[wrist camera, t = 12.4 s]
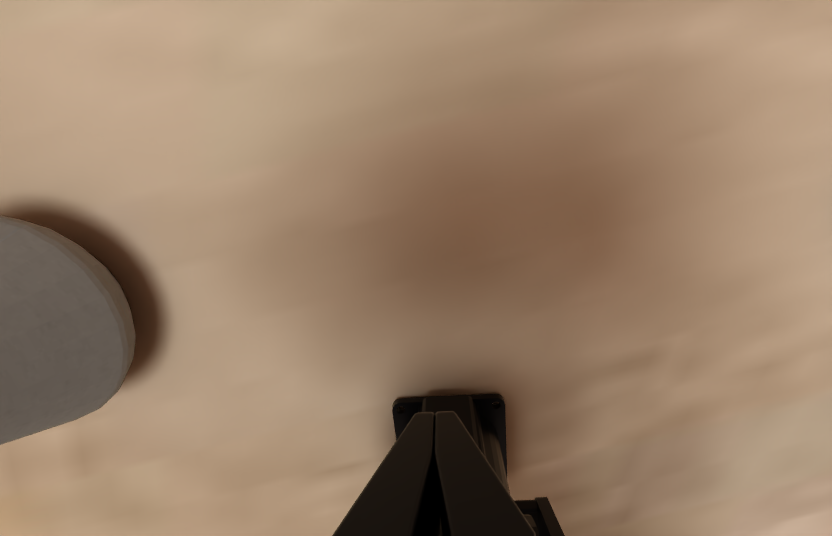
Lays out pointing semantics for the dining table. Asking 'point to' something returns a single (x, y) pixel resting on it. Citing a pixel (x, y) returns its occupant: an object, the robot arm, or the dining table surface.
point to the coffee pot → (56, 330)
